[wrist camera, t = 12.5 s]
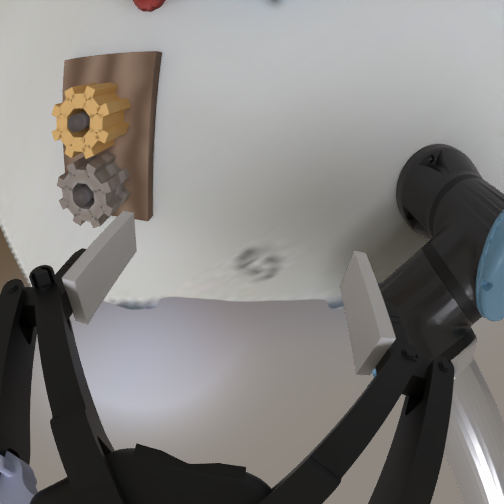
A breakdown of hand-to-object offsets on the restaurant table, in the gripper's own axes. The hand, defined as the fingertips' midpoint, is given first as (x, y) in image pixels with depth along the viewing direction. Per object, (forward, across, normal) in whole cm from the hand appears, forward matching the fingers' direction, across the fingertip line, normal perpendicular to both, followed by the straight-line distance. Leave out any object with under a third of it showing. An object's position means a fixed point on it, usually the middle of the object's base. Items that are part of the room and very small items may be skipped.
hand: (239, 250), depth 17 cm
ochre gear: (+24, +24, -3) cm, 34 cm away
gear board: (+26, +24, +1) cm, 36 cm away
